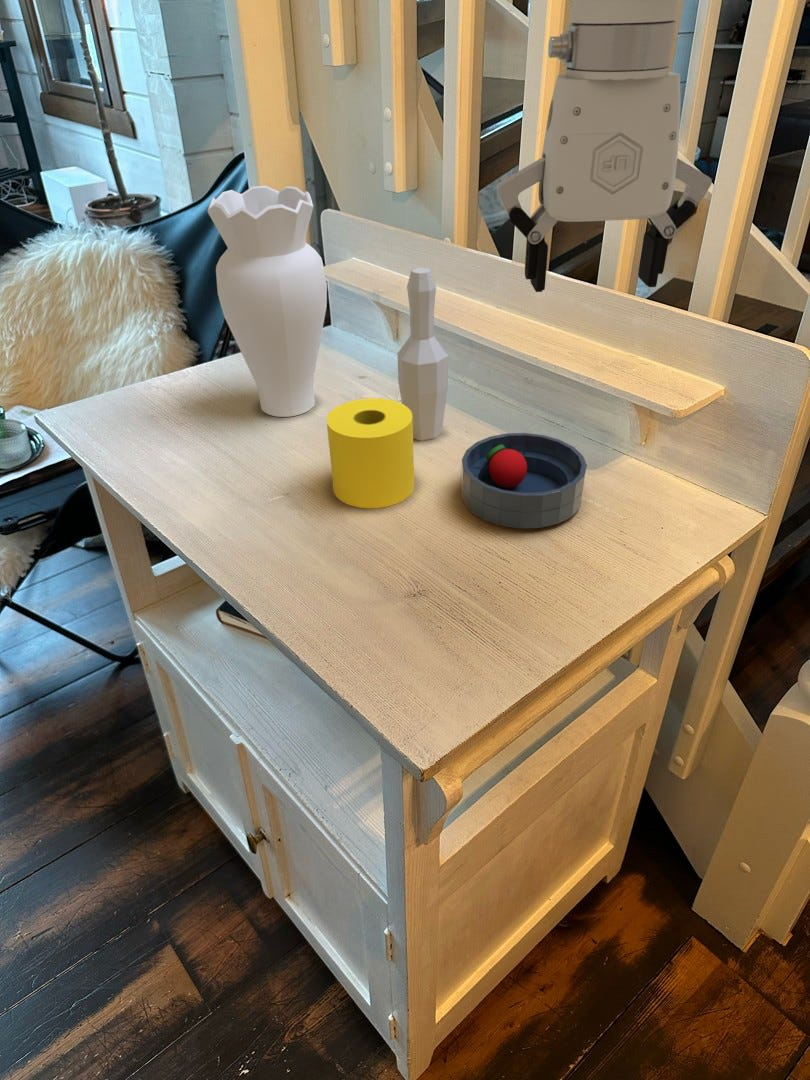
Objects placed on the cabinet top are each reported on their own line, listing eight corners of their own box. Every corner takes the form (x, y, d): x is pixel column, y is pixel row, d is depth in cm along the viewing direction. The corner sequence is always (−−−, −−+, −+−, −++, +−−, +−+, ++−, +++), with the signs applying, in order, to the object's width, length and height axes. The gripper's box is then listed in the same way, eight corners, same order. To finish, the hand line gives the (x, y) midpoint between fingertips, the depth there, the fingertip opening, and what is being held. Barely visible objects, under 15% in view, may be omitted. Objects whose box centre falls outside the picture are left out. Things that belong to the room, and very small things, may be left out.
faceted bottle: (456, 434, 104) (457, 271, 91) (418, 448, 101) (414, 282, 88) (429, 417, 108) (427, 259, 95) (392, 430, 105) (385, 269, 93)
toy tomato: (538, 473, 92) (513, 442, 93) (530, 467, 87) (504, 435, 89) (509, 497, 93) (485, 467, 94) (499, 492, 88) (474, 461, 90)
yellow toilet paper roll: (357, 517, 88) (352, 446, 83) (319, 480, 95) (312, 412, 90) (429, 491, 92) (428, 422, 87) (388, 457, 99) (384, 391, 94)
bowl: (588, 476, 94) (593, 440, 91) (572, 541, 83) (577, 503, 80) (476, 461, 98) (477, 426, 95) (448, 522, 87) (448, 485, 84)
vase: (222, 424, 108) (181, 208, 91) (259, 381, 120) (229, 182, 103) (320, 432, 106) (296, 210, 88) (348, 387, 117) (332, 183, 100)
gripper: (510, 61, 53) (499, 303, 63) (755, 51, 53) (705, 294, 63) (495, 53, 59) (487, 275, 69) (715, 45, 59) (675, 268, 69)
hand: (591, 284), depth 66 cm, fingers open, 9 cm apart
